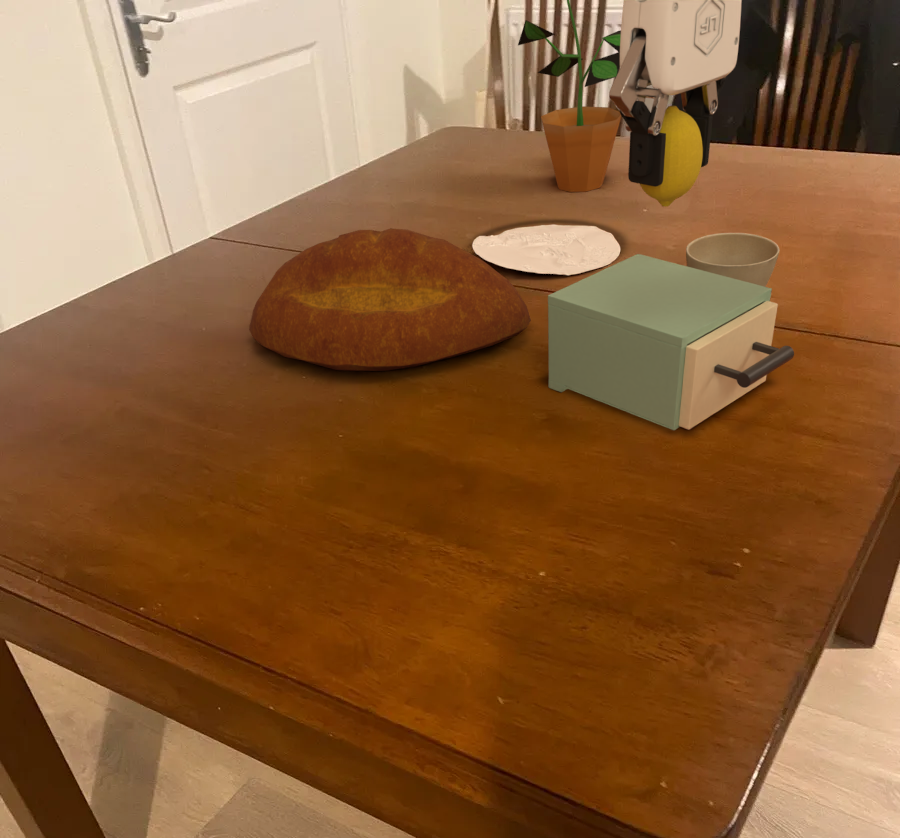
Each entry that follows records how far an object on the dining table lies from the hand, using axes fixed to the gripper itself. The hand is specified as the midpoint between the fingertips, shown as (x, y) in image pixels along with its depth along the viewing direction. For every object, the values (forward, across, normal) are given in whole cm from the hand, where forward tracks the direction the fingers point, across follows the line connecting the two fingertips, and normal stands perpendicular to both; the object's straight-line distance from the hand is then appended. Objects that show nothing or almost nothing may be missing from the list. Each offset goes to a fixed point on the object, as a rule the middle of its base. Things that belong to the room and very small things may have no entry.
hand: (668, 171), depth 79 cm
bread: (+21, -8, +32) cm, 39 cm away
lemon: (+3, 0, 0) cm, 3 cm away
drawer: (+20, +1, -2) cm, 20 cm away
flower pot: (+21, +22, +6) cm, 31 cm away
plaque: (+21, +24, +36) cm, 48 cm away
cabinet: (+21, +2, +1) cm, 21 cm away
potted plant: (+21, +49, +52) cm, 74 cm away
